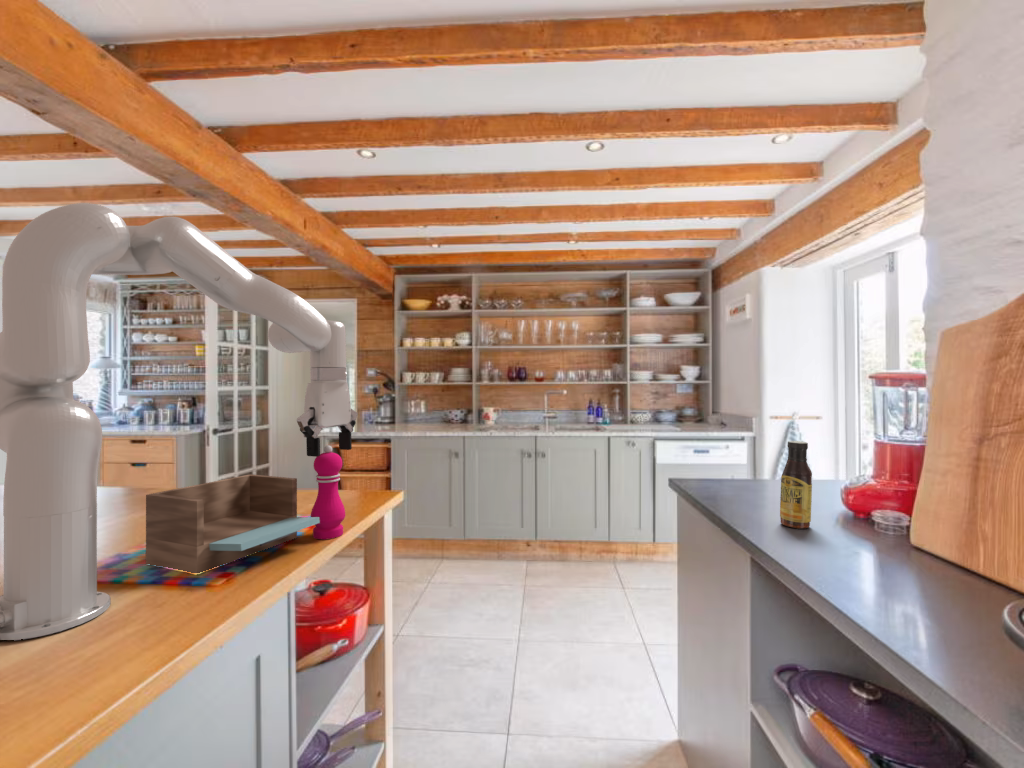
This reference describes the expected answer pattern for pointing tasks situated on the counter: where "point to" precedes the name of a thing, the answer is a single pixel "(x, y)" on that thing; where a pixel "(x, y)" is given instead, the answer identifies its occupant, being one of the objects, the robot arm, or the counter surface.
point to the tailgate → (264, 534)
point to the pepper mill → (328, 496)
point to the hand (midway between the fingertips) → (330, 452)
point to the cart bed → (214, 519)
